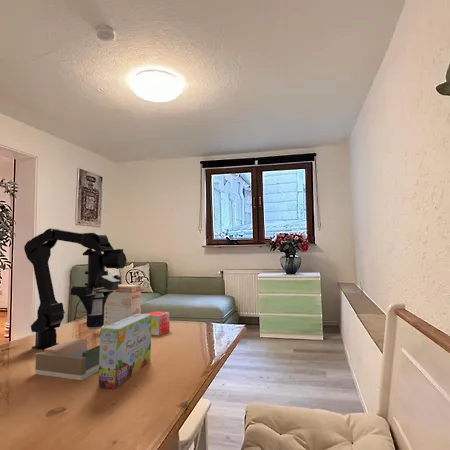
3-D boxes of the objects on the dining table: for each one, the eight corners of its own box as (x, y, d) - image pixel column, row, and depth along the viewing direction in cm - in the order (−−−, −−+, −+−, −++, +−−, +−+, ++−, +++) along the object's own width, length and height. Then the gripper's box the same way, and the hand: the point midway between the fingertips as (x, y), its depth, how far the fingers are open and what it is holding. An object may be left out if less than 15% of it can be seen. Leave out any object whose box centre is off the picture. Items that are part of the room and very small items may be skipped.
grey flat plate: (81, 370, 94) (82, 352, 95) (108, 357, 106) (109, 341, 106) (84, 371, 94) (85, 352, 95) (111, 357, 106) (111, 341, 106)
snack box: (117, 389, 85) (118, 328, 86) (97, 388, 86) (98, 327, 87) (152, 362, 105) (152, 313, 106) (135, 360, 107) (136, 312, 108)
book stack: (43, 367, 98) (43, 349, 98) (75, 353, 110) (76, 338, 110) (55, 368, 96) (56, 350, 97) (87, 355, 109) (87, 339, 109)
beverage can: (107, 326, 120) (107, 292, 121) (95, 330, 115) (95, 294, 115) (95, 325, 122) (96, 292, 123) (82, 328, 117) (83, 294, 118)
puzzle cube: (143, 333, 141) (143, 314, 142) (153, 329, 148) (154, 311, 149) (159, 335, 138) (159, 315, 139) (169, 331, 145) (169, 312, 146)
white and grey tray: (35, 373, 96) (35, 353, 96) (80, 354, 113) (80, 337, 113) (81, 380, 91) (81, 358, 91) (121, 359, 108) (121, 341, 108)
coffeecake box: (141, 329, 149) (141, 284, 150) (130, 332, 142) (131, 286, 144) (114, 326, 155) (115, 283, 156) (103, 329, 148) (104, 284, 150)
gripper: (98, 270, 108) (97, 319, 107) (131, 267, 126) (130, 309, 125) (70, 269, 112) (68, 317, 111) (105, 266, 130) (105, 307, 128)
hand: (95, 312), depth 119 cm, fingers closed on beverage can, 6 cm apart
